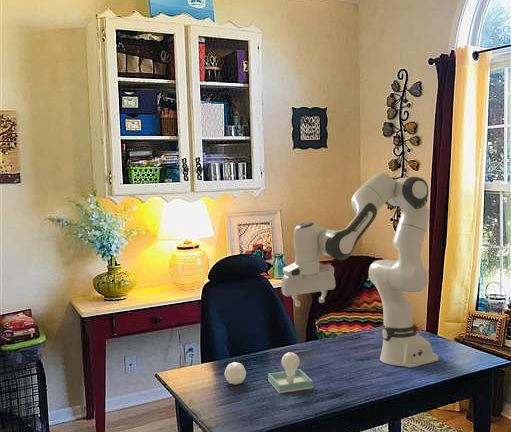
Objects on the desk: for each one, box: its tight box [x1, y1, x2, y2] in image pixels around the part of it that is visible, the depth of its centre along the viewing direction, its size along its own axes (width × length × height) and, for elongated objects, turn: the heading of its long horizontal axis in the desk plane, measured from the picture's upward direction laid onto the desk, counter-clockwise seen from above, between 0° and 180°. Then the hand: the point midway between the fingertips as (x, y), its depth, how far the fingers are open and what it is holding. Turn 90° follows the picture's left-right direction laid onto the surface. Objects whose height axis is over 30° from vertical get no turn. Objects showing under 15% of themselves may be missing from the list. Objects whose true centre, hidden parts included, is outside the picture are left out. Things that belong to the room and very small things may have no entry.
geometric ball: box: [224, 361, 247, 386], centre depth 207 cm, size 8×8×8 cm
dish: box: [267, 368, 314, 394], centre depth 205 cm, size 12×12×3 cm
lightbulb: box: [281, 351, 300, 383], centre depth 204 cm, size 6×6×11 cm
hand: (309, 304), depth 212 cm, fingers open, 8 cm apart
